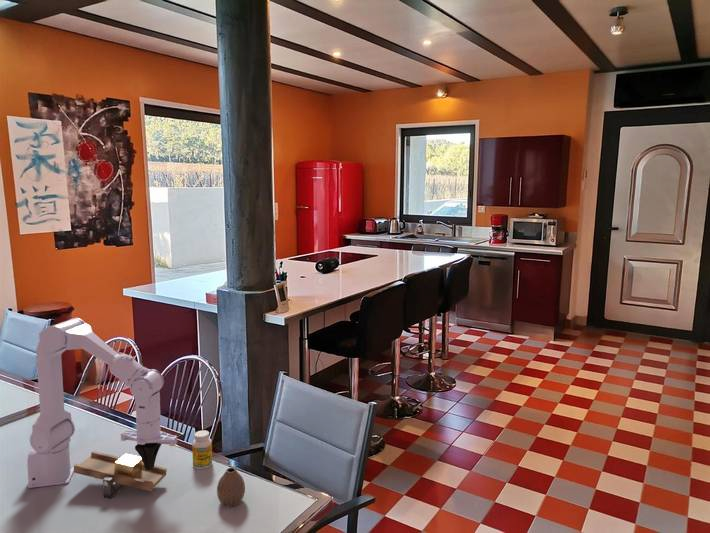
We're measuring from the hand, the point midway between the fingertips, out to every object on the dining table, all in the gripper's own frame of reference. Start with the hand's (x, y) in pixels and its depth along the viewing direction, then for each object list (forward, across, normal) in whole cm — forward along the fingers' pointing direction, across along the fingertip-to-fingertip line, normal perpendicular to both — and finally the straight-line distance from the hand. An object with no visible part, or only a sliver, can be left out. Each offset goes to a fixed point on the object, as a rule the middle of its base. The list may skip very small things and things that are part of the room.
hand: (149, 468), depth 133 cm
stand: (+6, -8, 0) cm, 10 cm away
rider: (+2, -6, 0) cm, 6 cm away
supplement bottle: (+6, +8, +14) cm, 17 cm away
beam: (+2, -8, 0) cm, 9 cm away
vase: (+6, +23, -1) cm, 23 cm away
